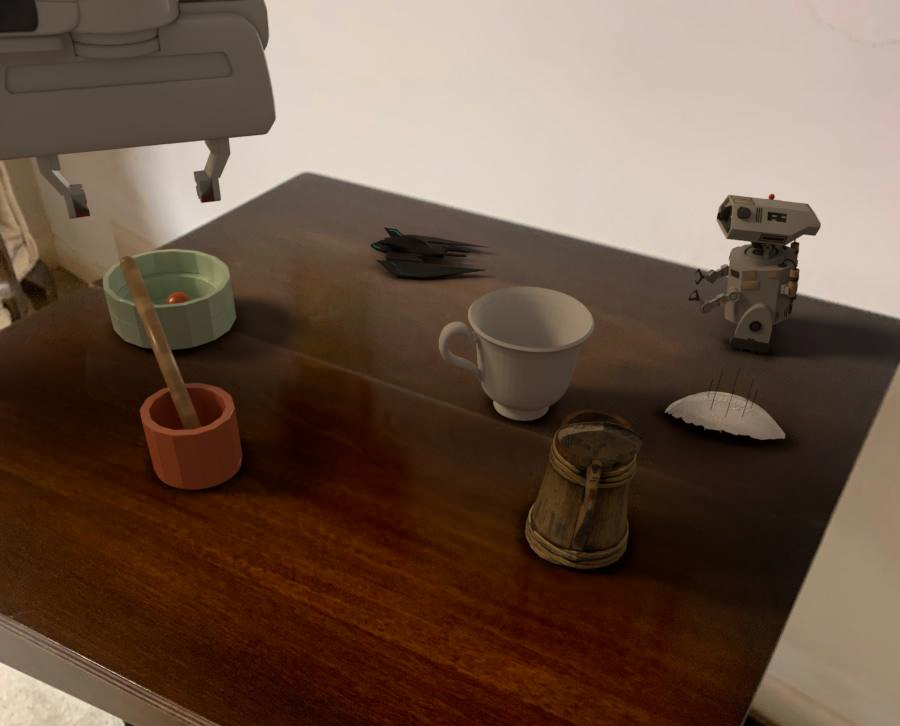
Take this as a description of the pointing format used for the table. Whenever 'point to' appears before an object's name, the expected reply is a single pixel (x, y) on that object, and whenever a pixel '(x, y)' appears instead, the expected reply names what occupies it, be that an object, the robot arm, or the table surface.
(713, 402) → the pincushion
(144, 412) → the holder
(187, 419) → the stirring stick
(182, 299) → the bead
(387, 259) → the black starfighter
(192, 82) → the robot arm
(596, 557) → the wooden mug
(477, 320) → the teacup
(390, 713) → the table surface
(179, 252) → the bowl
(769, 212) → the figurine
